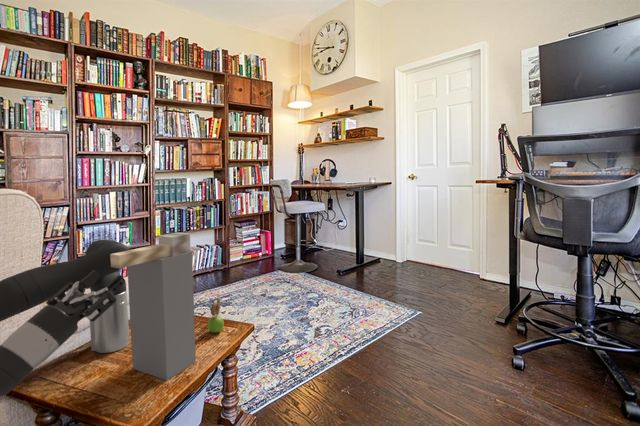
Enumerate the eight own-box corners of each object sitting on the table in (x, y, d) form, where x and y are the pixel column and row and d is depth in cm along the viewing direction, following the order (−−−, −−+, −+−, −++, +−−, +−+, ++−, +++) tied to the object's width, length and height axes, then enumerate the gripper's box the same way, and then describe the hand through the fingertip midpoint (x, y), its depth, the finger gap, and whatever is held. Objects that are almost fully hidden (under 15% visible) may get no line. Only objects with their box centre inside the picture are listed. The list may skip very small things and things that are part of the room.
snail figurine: (227, 327, 121) (226, 294, 119) (220, 336, 114) (219, 301, 113) (212, 326, 121) (211, 293, 120) (204, 335, 115) (203, 300, 114)
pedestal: (167, 380, 89) (161, 258, 86) (132, 368, 95) (126, 253, 91) (195, 361, 98) (192, 250, 95) (163, 351, 104) (158, 246, 100)
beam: (122, 269, 77) (121, 247, 77) (108, 266, 79) (106, 245, 79) (190, 251, 95) (189, 233, 95) (177, 249, 97) (176, 232, 97)
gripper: (50, 331, 60) (122, 267, 72) (6, 317, 66) (80, 259, 78) (75, 356, 64) (140, 291, 76) (32, 341, 70) (98, 283, 82)
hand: (109, 275), depth 77 cm, fingers open, 8 cm apart
